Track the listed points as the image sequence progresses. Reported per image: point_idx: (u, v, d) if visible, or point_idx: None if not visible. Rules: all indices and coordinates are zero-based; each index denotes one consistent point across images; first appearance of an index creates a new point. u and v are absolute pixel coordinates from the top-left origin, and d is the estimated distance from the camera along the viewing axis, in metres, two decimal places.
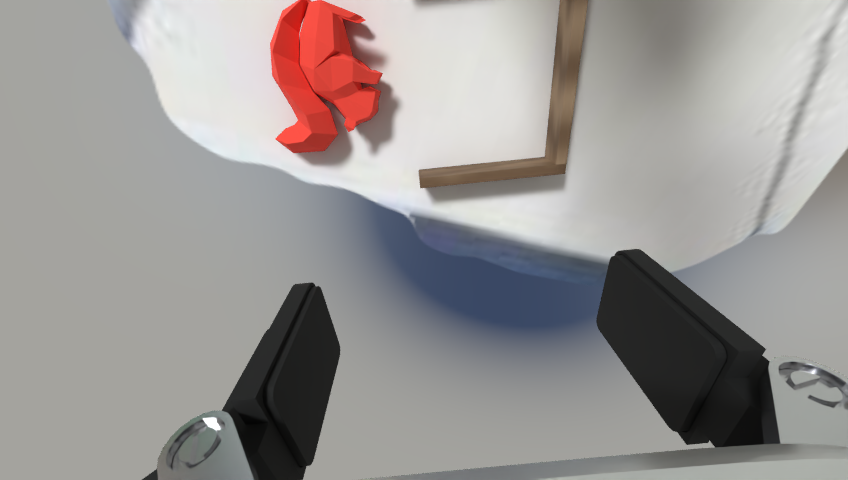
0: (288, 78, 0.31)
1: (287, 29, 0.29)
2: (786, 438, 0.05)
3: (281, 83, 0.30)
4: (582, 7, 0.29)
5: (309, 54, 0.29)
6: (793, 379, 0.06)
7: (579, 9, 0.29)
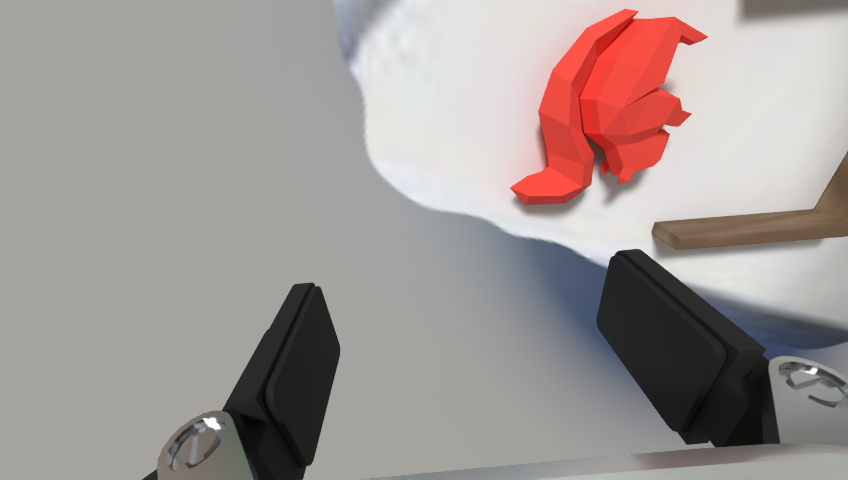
0: (573, 117, 0.23)
1: (592, 53, 0.21)
2: (786, 438, 0.05)
3: (569, 125, 0.22)
4: None
5: (621, 88, 0.21)
6: (793, 379, 0.06)
7: None
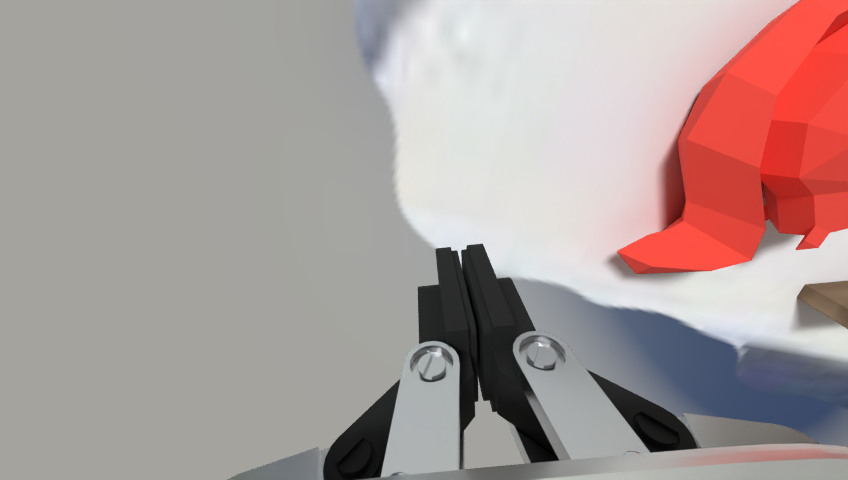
0: None
1: None
2: (557, 425, 0.05)
3: (759, 166, 0.13)
4: None
5: None
6: (530, 357, 0.07)
7: None
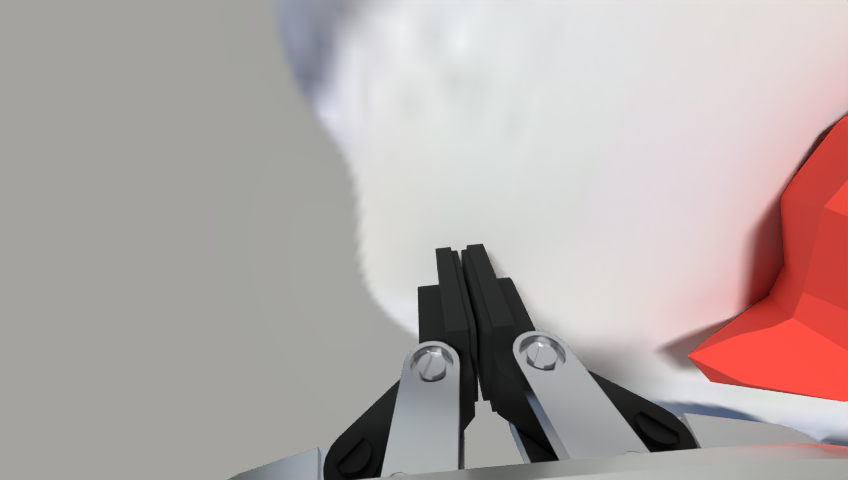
0: None
1: None
2: (557, 425, 0.05)
3: None
4: None
5: None
6: (530, 357, 0.07)
7: None
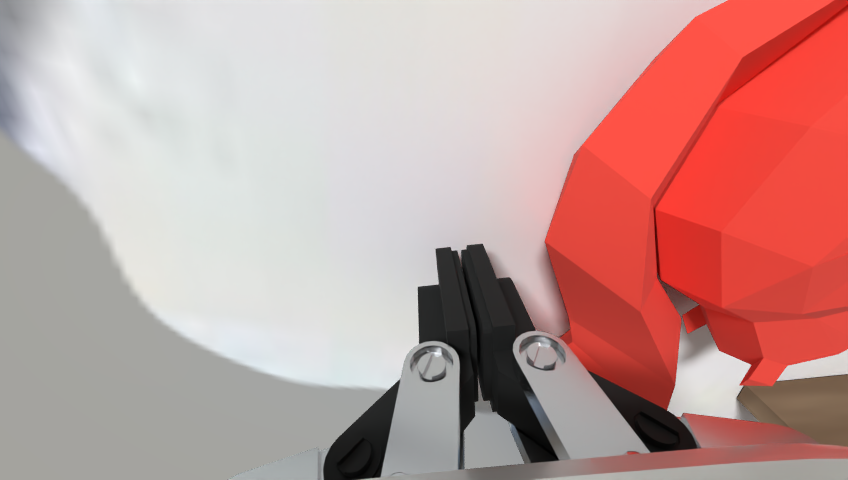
0: (648, 275, 0.08)
1: (718, 99, 0.07)
2: (557, 425, 0.05)
3: (642, 307, 0.08)
4: None
5: (820, 209, 0.07)
6: (530, 357, 0.07)
7: None
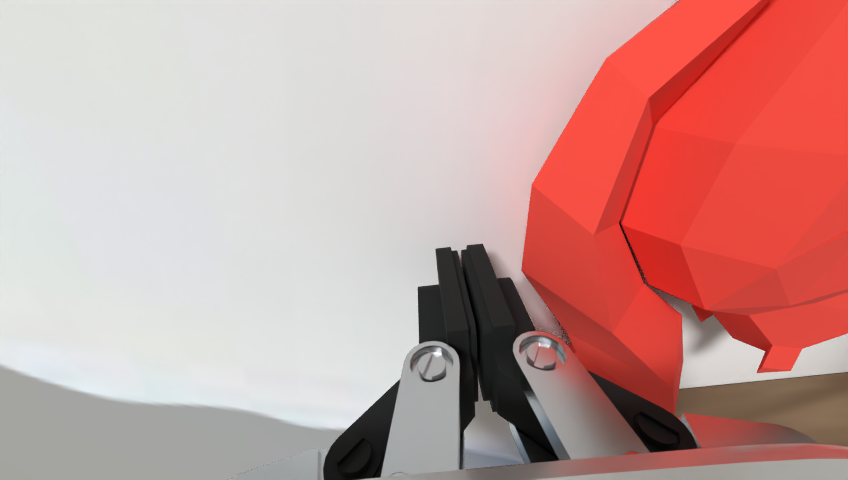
0: (619, 294, 0.08)
1: (642, 130, 0.07)
2: (557, 425, 0.05)
3: (614, 328, 0.08)
4: None
5: (768, 216, 0.07)
6: (530, 357, 0.07)
7: None
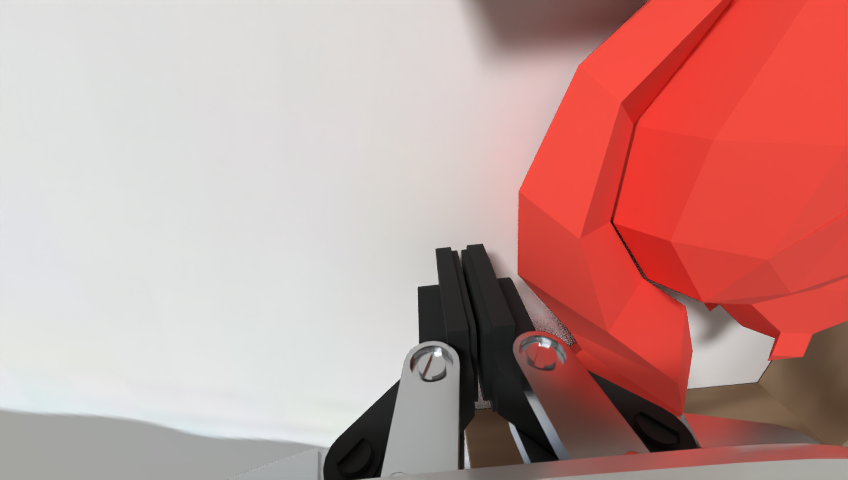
0: (614, 293, 0.08)
1: (620, 132, 0.07)
2: (557, 425, 0.05)
3: (610, 327, 0.08)
4: None
5: (753, 208, 0.07)
6: (530, 357, 0.07)
7: None
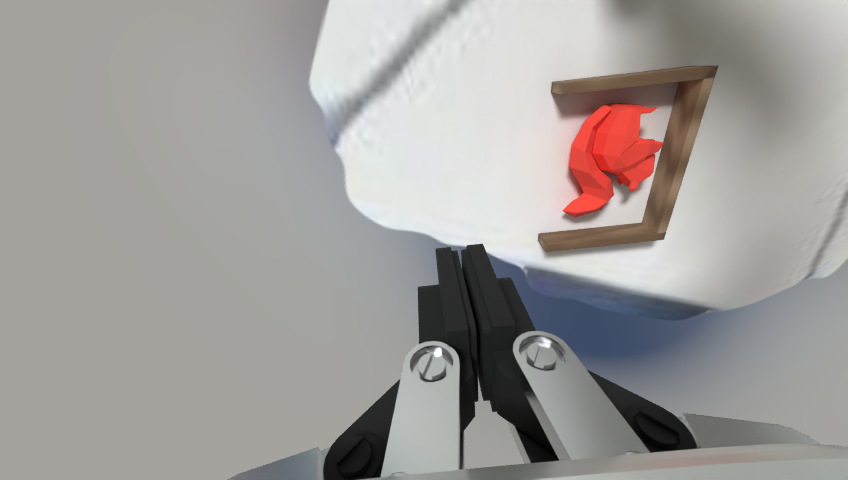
0: (591, 167, 0.40)
1: (592, 132, 0.38)
2: (557, 425, 0.05)
3: (590, 172, 0.39)
4: (695, 125, 0.38)
5: (615, 146, 0.38)
6: (530, 357, 0.07)
7: (693, 127, 0.38)
